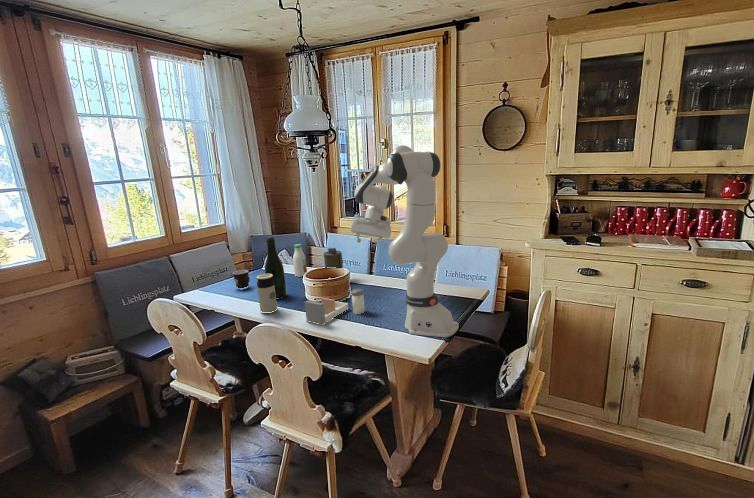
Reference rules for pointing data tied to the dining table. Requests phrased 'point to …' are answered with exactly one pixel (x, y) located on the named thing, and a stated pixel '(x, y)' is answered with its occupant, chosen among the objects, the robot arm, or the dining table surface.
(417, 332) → the robot arm
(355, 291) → the jar
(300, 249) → the milk bottle
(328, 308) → the spring pusher
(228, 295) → the dining table surface
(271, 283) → the travel mug
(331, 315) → the pusher lane
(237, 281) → the coffee mug
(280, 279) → the wine bottle
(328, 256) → the canister
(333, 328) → the dining table surface
